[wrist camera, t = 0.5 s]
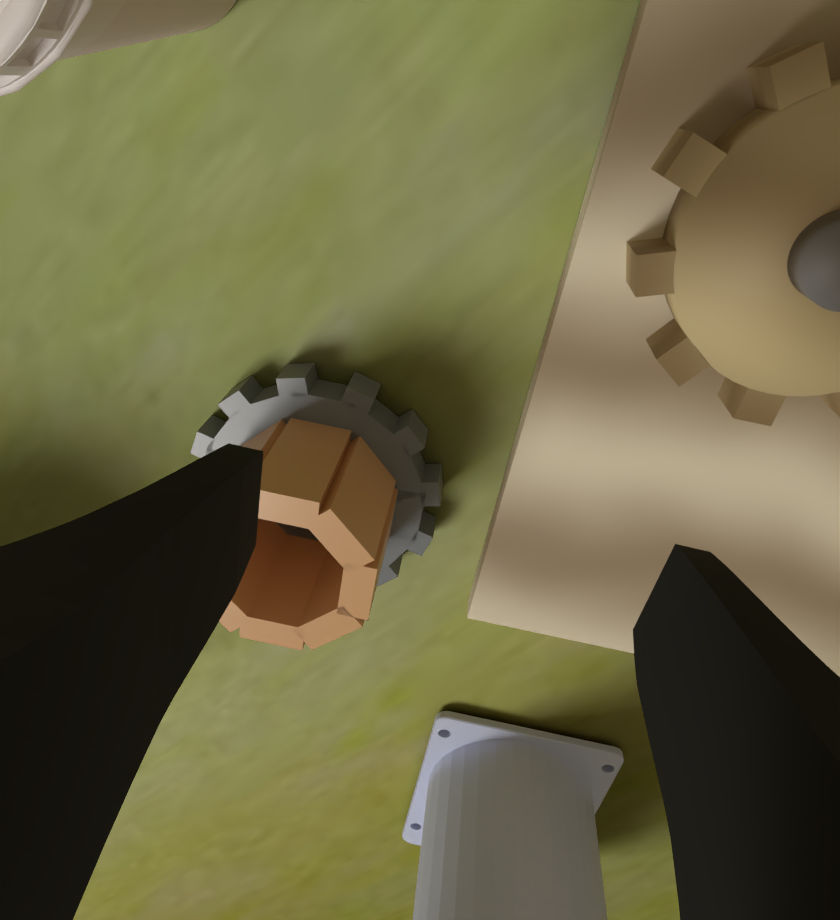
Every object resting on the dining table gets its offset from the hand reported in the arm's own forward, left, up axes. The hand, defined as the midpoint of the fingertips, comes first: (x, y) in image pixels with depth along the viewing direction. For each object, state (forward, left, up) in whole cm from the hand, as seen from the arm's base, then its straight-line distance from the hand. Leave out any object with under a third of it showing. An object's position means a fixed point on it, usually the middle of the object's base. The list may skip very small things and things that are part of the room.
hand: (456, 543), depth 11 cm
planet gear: (-6, +4, -10) cm, 12 cm away
